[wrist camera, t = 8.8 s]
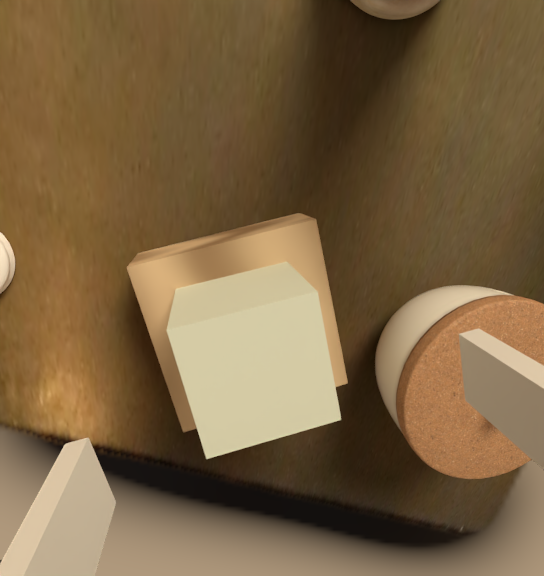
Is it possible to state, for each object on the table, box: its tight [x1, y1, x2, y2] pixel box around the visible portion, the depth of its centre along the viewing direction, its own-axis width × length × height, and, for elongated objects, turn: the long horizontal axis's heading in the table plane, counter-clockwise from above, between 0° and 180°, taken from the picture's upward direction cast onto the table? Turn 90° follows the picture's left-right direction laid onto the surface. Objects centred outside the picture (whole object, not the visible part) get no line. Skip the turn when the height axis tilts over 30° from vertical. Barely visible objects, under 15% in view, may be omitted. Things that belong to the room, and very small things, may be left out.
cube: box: [167, 262, 341, 459], centre depth 19 cm, size 6×6×6 cm
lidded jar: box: [375, 285, 544, 479], centre depth 25 cm, size 11×11×9 cm
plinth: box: [127, 213, 348, 432], centre depth 24 cm, size 10×10×4 cm
